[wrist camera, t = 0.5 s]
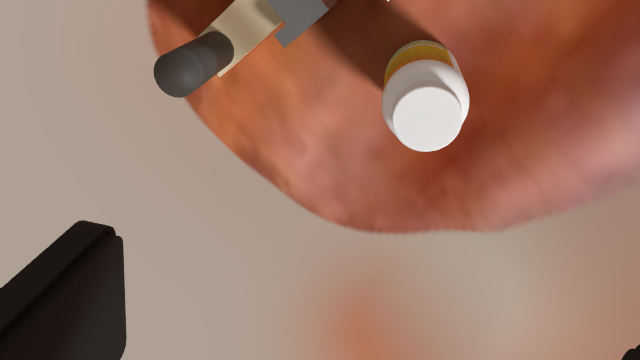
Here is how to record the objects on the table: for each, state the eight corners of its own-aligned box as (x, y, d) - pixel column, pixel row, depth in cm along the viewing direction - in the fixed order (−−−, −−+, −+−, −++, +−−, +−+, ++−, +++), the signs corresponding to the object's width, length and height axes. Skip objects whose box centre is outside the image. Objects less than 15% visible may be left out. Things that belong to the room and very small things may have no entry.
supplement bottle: (369, 73, 36) (359, 115, 28) (427, 23, 34) (434, 52, 25) (415, 124, 37) (419, 180, 29) (473, 78, 35) (496, 125, 27)
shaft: (281, -37, 33) (238, -27, 25) (308, -2, 34) (276, 20, 25) (204, 36, 37) (142, 69, 28) (231, 67, 37) (179, 108, 29)
